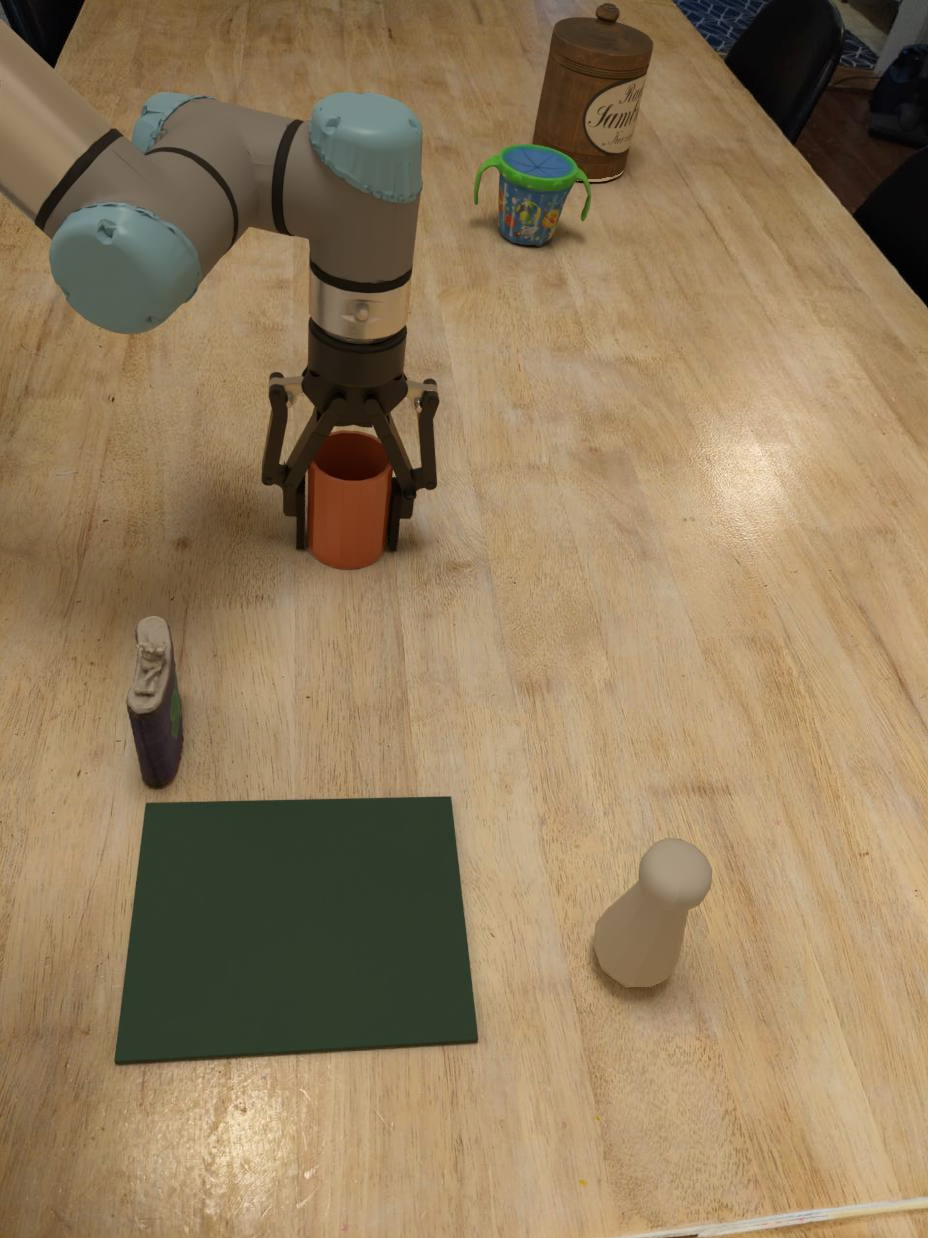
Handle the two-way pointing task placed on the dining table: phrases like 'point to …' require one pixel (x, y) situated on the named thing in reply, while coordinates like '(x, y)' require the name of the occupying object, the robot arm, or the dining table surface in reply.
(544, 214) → the snack cup
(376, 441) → the cup
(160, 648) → the flask
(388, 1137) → the dining table surface
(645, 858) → the salt shaker
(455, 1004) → the mat
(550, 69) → the wooden container
